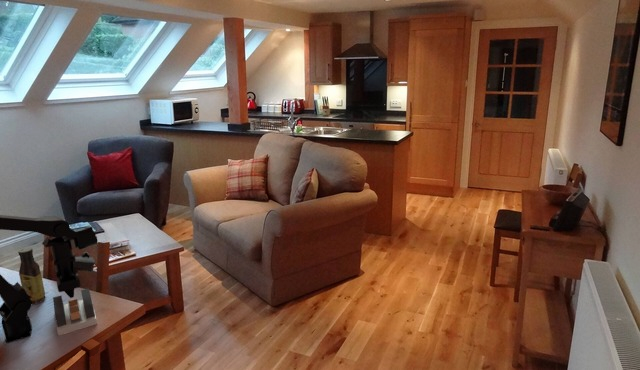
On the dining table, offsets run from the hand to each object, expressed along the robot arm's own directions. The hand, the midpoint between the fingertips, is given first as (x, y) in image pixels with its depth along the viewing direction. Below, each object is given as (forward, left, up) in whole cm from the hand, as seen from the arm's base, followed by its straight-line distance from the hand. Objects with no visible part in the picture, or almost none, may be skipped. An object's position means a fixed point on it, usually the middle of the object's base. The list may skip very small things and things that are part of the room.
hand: (71, 297), depth 149 cm
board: (0, -4, -6) cm, 7 cm away
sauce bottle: (-11, +16, -6) cm, 20 cm away
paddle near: (0, -9, -3) cm, 10 cm away
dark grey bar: (-4, -4, -4) cm, 7 cm away
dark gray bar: (+4, -4, -4) cm, 7 cm away
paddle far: (0, 0, -3) cm, 3 cm away
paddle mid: (0, -4, -3) cm, 6 cm away
